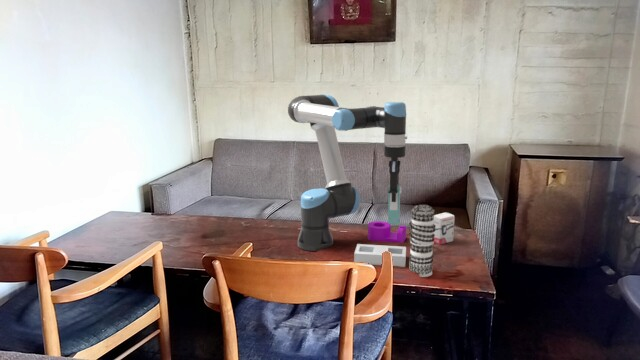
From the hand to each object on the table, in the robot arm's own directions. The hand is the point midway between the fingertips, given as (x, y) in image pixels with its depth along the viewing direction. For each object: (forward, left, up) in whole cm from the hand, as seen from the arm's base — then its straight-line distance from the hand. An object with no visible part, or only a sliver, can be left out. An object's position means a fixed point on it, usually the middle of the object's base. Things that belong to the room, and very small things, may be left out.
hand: (394, 207), depth 175 cm
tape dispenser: (-4, +27, -23) cm, 35 cm away
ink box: (+20, +27, -22) cm, 41 cm away
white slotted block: (-5, 0, -22) cm, 23 cm away
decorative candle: (+10, -6, -22) cm, 25 cm away
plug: (0, 0, -6) cm, 6 cm away
